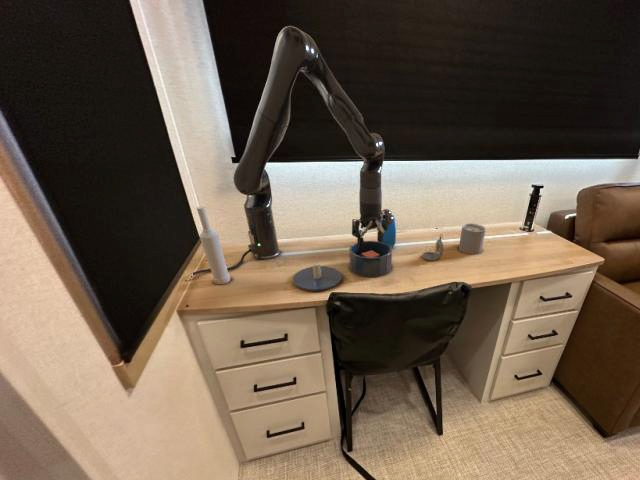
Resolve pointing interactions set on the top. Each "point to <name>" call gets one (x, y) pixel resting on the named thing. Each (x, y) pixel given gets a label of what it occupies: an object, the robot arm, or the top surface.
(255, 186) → the robot arm
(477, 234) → the grey cylinder
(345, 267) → the top surface
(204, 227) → the bottle
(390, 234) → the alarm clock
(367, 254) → the block
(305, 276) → the lid
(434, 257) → the pocket watch
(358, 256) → the bowl
